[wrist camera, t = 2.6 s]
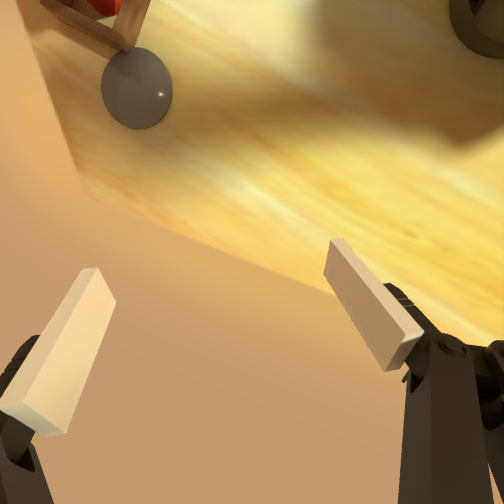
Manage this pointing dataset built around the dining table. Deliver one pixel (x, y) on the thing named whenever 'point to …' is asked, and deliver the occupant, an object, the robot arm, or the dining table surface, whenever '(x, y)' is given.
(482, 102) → the dining table surface
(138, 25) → the collar
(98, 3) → the paper cup
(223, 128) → the dining table surface
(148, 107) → the grey smooth round part
